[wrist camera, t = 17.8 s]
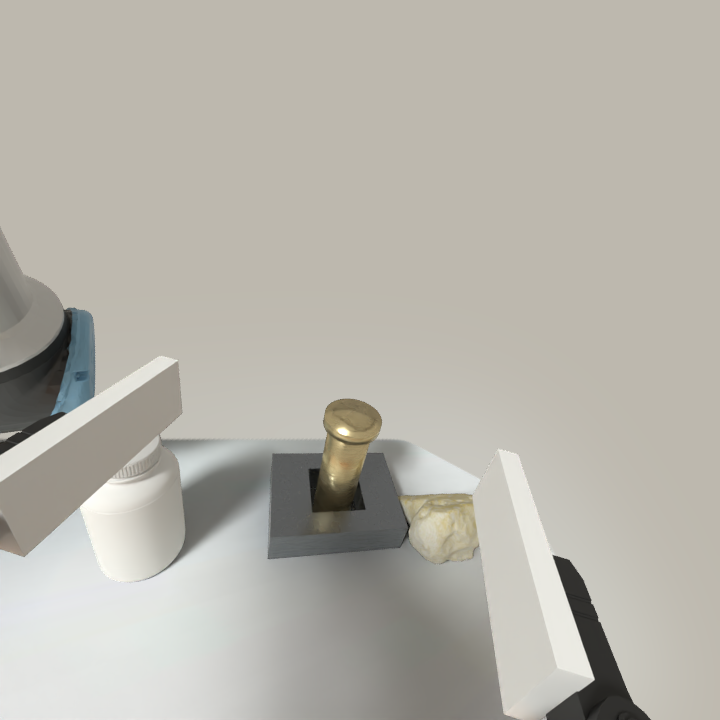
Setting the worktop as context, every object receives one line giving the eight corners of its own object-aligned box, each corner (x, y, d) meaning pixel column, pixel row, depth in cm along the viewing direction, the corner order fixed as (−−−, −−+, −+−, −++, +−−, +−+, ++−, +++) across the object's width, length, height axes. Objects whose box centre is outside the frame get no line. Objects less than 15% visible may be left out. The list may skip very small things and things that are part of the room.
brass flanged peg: (298, 517, 42) (314, 421, 35) (320, 482, 48) (339, 392, 40) (343, 540, 41) (371, 445, 33) (361, 500, 47) (388, 411, 39)
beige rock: (373, 567, 41) (493, 600, 31) (368, 503, 43) (481, 515, 33) (437, 533, 52) (541, 550, 42) (431, 484, 54) (530, 489, 44)
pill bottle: (169, 501, 41) (158, 404, 34) (198, 551, 37) (192, 453, 30) (89, 540, 36) (55, 435, 28) (112, 604, 31) (78, 500, 24)
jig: (267, 559, 37) (269, 537, 36) (270, 474, 47) (272, 453, 46) (399, 547, 42) (408, 528, 40) (376, 471, 52) (382, 453, 50)
